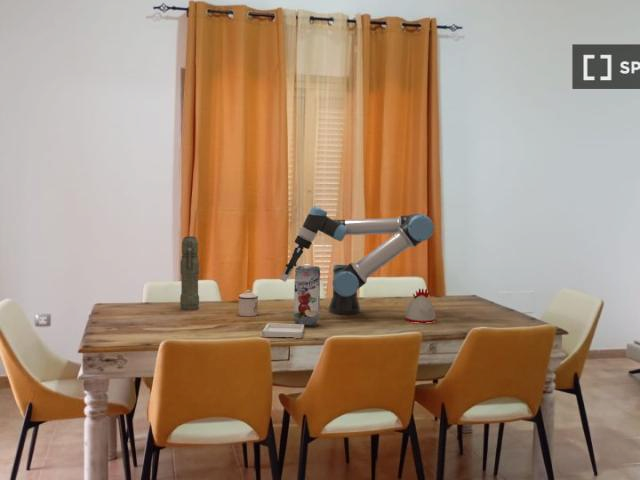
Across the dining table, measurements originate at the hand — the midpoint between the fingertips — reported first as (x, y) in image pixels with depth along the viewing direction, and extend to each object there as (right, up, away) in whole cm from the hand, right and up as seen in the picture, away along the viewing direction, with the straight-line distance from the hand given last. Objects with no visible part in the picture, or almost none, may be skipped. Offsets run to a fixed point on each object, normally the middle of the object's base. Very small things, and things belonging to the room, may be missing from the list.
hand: (284, 279), depth 285 cm
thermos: (-47, -15, +14) cm, 51 cm away
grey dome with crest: (+63, -19, -2) cm, 65 cm away
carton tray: (+2, -20, -33) cm, 39 cm away
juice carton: (+11, -19, -16) cm, 27 cm away
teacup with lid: (-17, -17, +4) cm, 25 cm away
